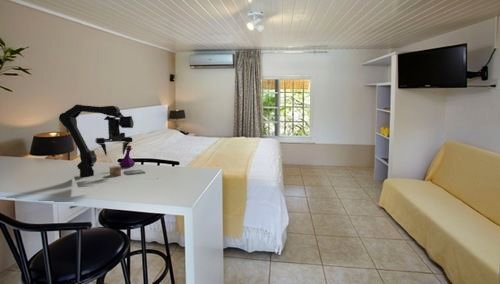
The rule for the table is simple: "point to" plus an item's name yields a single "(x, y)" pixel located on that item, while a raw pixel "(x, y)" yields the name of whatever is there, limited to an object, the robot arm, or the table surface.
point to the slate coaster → (134, 172)
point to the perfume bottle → (127, 159)
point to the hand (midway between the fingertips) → (114, 155)
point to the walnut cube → (115, 171)
